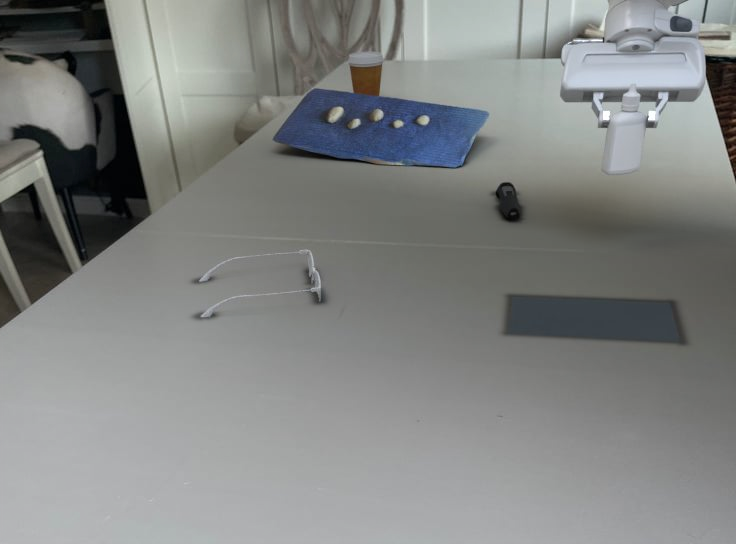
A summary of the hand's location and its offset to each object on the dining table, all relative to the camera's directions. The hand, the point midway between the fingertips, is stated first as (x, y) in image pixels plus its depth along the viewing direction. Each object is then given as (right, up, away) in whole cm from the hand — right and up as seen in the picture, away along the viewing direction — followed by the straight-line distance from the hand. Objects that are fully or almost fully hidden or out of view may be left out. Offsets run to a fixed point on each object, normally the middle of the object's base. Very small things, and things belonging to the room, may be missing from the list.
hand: (627, 125), depth 118 cm
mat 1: (-33, +27, +67) cm, 80 cm away
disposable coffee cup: (-36, +53, +99) cm, 119 cm away
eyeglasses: (-55, -24, +5) cm, 60 cm away
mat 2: (-7, -30, -7) cm, 32 cm away
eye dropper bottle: (0, -5, +5) cm, 7 cm away
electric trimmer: (-11, -1, +31) cm, 33 cm away
